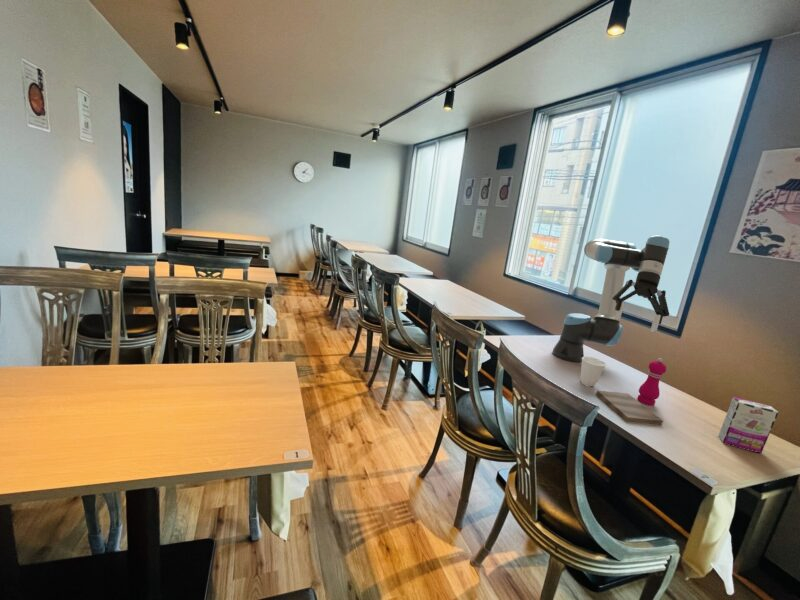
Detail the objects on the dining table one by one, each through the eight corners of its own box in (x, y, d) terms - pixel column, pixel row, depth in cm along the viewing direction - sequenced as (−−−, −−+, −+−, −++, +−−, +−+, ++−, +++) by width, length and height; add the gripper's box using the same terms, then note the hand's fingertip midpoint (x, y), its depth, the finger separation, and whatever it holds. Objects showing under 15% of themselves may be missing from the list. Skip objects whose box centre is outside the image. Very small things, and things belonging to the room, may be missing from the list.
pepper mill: (659, 406, 152) (675, 362, 147) (646, 406, 150) (662, 362, 145) (644, 397, 159) (658, 354, 154) (631, 397, 157) (646, 354, 152)
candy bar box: (754, 446, 131) (772, 405, 127) (761, 454, 127) (780, 412, 123) (716, 435, 135) (732, 395, 131) (722, 443, 130) (739, 402, 126)
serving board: (595, 394, 155) (597, 390, 154) (626, 397, 156) (628, 393, 155) (626, 421, 135) (627, 417, 135) (661, 425, 137) (663, 420, 136)
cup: (597, 391, 158) (604, 368, 155) (573, 382, 163) (579, 359, 161) (601, 384, 166) (608, 362, 163) (578, 376, 171) (584, 354, 169)
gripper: (622, 261, 141) (607, 312, 138) (689, 282, 138) (675, 335, 135) (612, 266, 148) (597, 315, 145) (675, 287, 145) (662, 337, 142)
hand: (635, 325), depth 140 cm, fingers open, 13 cm apart
